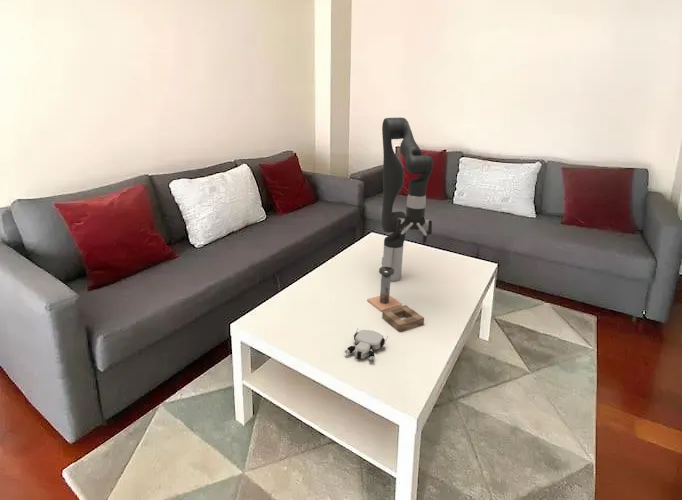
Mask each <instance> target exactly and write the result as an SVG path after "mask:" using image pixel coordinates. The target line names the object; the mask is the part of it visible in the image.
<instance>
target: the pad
mask: <svg viewBox="0 0 682 500" xmlns="http://www.w3.org/2000/svg"><path fill="white" fill-rule="evenodd" d="M366 301H367V302H368V303H369V304H370V305H372V307H375V308H376V309H377V310H378V311H379V312H381V313H383V311H387V310H390V309H394V308H397V307H401V306H403V304H402V302H400V301H398V300H397V299H396V298H394V297H393V296H392V295H390V294H389V303H387V304H382V303H380V295H377V296H374V297H371V298H367V299H366Z"/></svg>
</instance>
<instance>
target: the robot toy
mask: <svg viewBox="0 0 682 500" xmlns="http://www.w3.org/2000/svg"><path fill="white" fill-rule="evenodd" d="M358 330H359V327H357V329H356V331H355V333H354V334H353V340H354V342H355V345H351V346H348V347H347V349H345V350H344V353H345V354H347V355H348V354H352V353H353V352H354V354H355V357H356V358H357V359H362V360H363V359H365V358H367V357H368V356H369V360H370V361H375V359H376V358H375V357H376V356H375V351H374V350H378V349H380V348H382V347H383V346H384V345H386V343H387V340H388V338H389V335H386V337H385V338H386V339H385V338H384V335H383V334H381V333H380V332H377V331H374V330H370V329H360V330H359V331H358Z"/></svg>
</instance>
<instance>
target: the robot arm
mask: <svg viewBox="0 0 682 500" xmlns="http://www.w3.org/2000/svg"><path fill="white" fill-rule="evenodd" d="M381 129H382V133H381V135H382V150H383V151H382V152H383V161H382V162H383V165H382V166H383V169H382V170H383V171H382V186H383V187H382V192H383V195H382V209H381V211H382V212H381V227H382V230H383V232H385V233H390V234H389V235H388V236H386V237H384V240H383V255H382V257H381V258H382V259H381V267H391V268H393V269H394V274H393V275H391V282H397V281H400V280H401V279H402V271H403V270H402V268H403V255H404V254H403V253H404V243H405V240H406V234H407V231H408V230H412V231H413V230H415V231H418V230H420V231H421V233H422V244H423V245H424V244H425V243H427V237H428V235H432V234H433V233H432V231H433V221H432V218H428V219H425V215H426V214H425V213H426V205H427V186H428V183H429V179H430V177H431V175H432V172H433V168H434V160H433V158H432V156H430V155H427V154H426V155H423V154H422V150H421V148H420V147H419V145H418V144H417V142H416V140H415V139H414V135H413V132H412V130H411V126H410V124H409V121H408V120H407V119H406V117H386V118H384V119H383V120H382V126H381ZM392 140H401V143H400V145H399V146H400V147H399V149H400V153H401V155H402V156H403V158H404V161H405V169H406V171H407V172H408V173H409V174H412V175H419V176H418V177H415V178H412V179H411V180H409V182H408V190H407V191H408V193H407V197H406V198H407V199H406V211H405V212H404V211H393V208H394V207H393V205H394V204H395V200H396V198H397V197H398V195H399V193H400V192H401V190H402V188H403V187H404V176H405V175H404V173H405V172H404V166H403V165H402V163H401V160H399V158H398V157H397V155H396V153H395V151H394V149H393V143H392V142H393V141H392ZM425 224H426V225H427V230H426V229H425V227H424V225H425ZM380 276H382V274H380Z"/></svg>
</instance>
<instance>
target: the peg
mask: <svg viewBox="0 0 682 500" xmlns="http://www.w3.org/2000/svg"><path fill="white" fill-rule="evenodd" d="M378 273H379V275H381V274H382V275H381V279H380V280H381V281H380V291H379V293H380V294H379V296H380V303H382V304H387V303H389V295H390V293H391V292H390V291H391V282H392V281H391V275H393V274H394V269H393V268H391V267H382V266H381V267H380V268H379V269H378Z"/></svg>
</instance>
